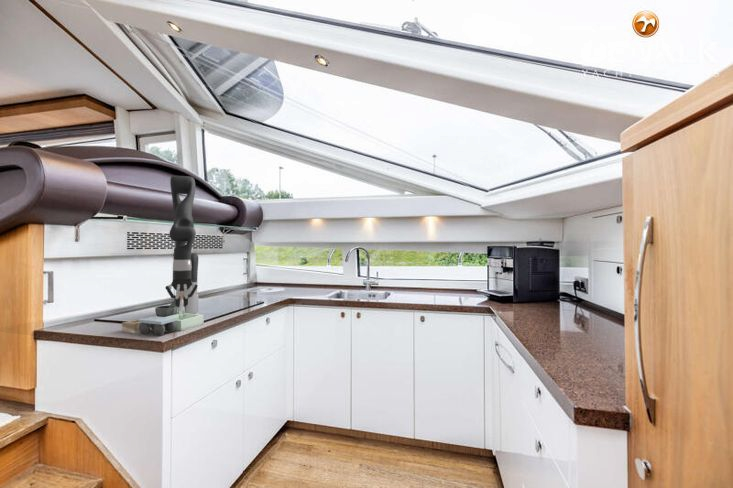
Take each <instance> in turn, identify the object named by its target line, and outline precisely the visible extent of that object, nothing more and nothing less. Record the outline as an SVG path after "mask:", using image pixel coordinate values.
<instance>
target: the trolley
mask: <svg viewBox="0 0 733 488" xmlns="http://www.w3.org/2000/svg"><path fill="white" fill-rule="evenodd" d="M174 321H176V318H168V317H157V315H154V316H149V317H145V318H140V320H139V322H140V323H141V324H140V325H139V331H140V332H139V333H140V334H142V335H145V334H148V333H149V332H150V331H151V330H152V332H153V333H154V335H156V336H162V335H164V334H165V332H166V333H168V334H169V333H172V332H175V328H176V325H175V323H174ZM149 323H150V325H149ZM163 324H165V326H164V325H163Z"/></svg>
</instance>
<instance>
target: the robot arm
mask: <svg viewBox="0 0 733 488" xmlns="http://www.w3.org/2000/svg"><path fill="white" fill-rule="evenodd" d="M169 183H170V192H171V200H172V209H173V210H172V211H173V213H172V214H173V224H172V225H171V227H170V230H169V232H168V233H169V235H168V236H169V239H170V240H171V241H172V242H174V243H175V245H174V246H175V248H174V249H173V262H172V282H171V284H168V285H166V286H165V290H166V291H167V293H168V296H170V298H172V299H175V305H176V306H177V307H178V310H177V314H179V296H185V304H184V307H185V313H187V314H198V313H199V294H198V271H199V270H198V269H199V255H198V253H197V252H196V253H195V252H192V247H193V244H194V241H195V238H196V233H197V232H196V229H195V227H194V226H195V225H194V217H193V214H192V212H193V205H194V202H195V201H194V200H195V194H196V181H195V178H194V177H193V176H189V175H188V176H187V175H186V176H185V175H172V176H171V177H170V181H169ZM180 195H186V196H185V197H184V198H183V199H182V200H181V197H180ZM172 288H173V289H174V290H175V291H176V292H175V294H174V293H173V292H172Z"/></svg>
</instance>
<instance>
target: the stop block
mask: <svg viewBox="0 0 733 488" xmlns="http://www.w3.org/2000/svg"><path fill="white" fill-rule="evenodd" d="M140 319H141V318H140ZM140 319H137V318H136V319H132V320H128V321H122V323H121V325H122V326H121V333H131V334H137V333H141V332H140V331H139V325H140V324H141V323H140V322H139V320H140ZM149 325H150V323H149Z"/></svg>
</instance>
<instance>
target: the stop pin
mask: <svg viewBox="0 0 733 488" xmlns="http://www.w3.org/2000/svg"><path fill="white" fill-rule="evenodd" d="M184 304H185V296H179V318H184V316H185V307H184Z"/></svg>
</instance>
